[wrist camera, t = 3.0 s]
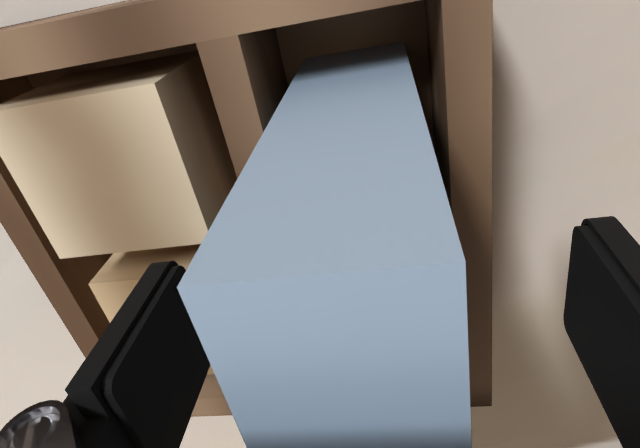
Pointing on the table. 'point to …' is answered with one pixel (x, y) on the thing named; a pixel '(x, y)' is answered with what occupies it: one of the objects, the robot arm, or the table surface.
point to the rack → (258, 108)
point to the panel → (339, 271)
